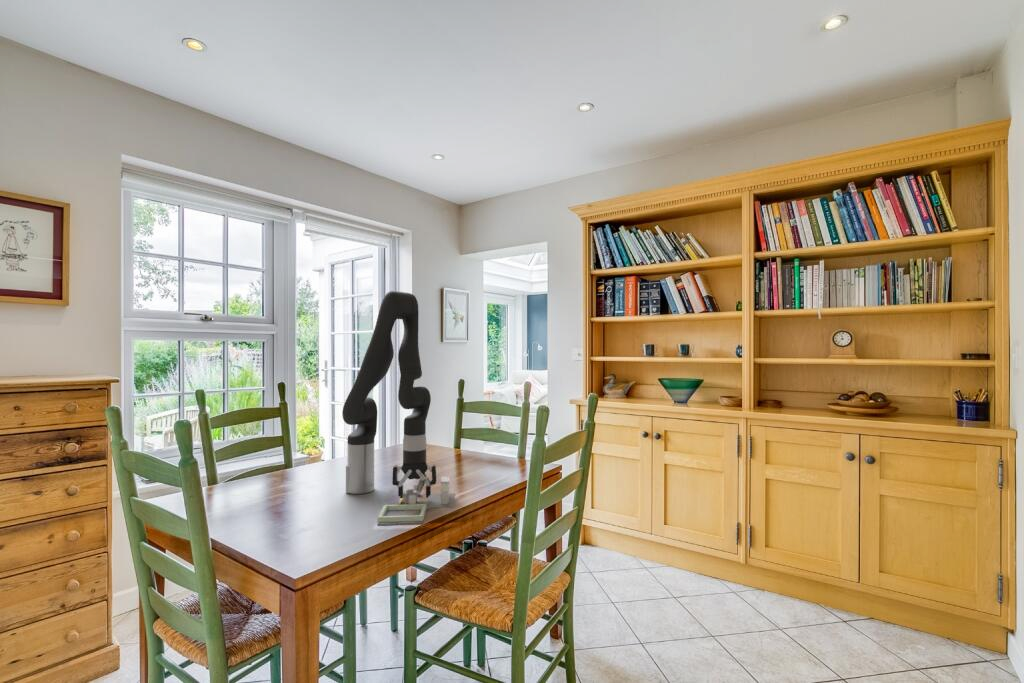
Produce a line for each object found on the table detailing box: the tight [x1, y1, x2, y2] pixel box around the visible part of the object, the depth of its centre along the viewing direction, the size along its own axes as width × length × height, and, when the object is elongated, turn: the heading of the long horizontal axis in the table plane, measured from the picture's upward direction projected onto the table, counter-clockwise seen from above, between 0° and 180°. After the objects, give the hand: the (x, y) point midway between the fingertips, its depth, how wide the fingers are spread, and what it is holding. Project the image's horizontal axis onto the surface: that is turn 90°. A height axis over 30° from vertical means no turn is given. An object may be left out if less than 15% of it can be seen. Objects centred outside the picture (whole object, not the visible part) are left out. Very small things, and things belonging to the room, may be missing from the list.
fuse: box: [440, 476, 451, 503], centre depth 161 cm, size 3×6×7 cm, turn 5°
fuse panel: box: [397, 483, 456, 509], centre depth 161 cm, size 18×14×5 cm
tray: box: [376, 503, 427, 527], centre depth 147 cm, size 13×11×2 cm
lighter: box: [403, 478, 426, 504], centre depth 160 cm, size 7×2×8 cm, turn 124°
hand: (414, 497), depth 160 cm, fingers open, 8 cm apart
